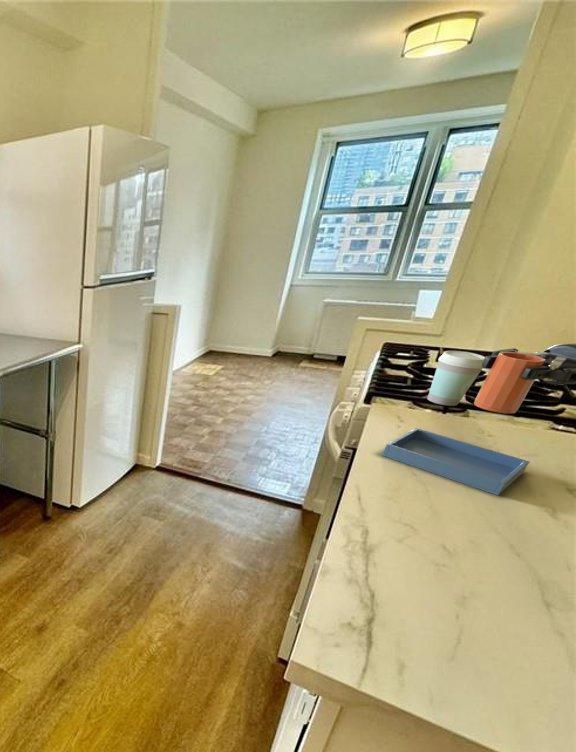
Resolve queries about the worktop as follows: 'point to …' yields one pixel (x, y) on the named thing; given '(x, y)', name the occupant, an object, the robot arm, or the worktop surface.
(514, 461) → the tray
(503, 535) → the worktop surface
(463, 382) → the coffee cup
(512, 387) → the tumbler
